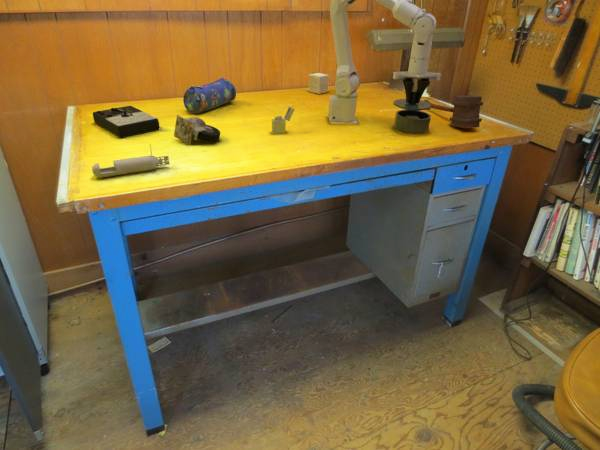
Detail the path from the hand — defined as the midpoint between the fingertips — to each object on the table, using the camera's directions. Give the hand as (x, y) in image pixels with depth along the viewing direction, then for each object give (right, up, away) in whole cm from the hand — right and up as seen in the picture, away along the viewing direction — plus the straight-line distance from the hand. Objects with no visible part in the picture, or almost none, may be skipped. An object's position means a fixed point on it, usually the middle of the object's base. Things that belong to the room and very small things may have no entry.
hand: (412, 102), depth 135 cm
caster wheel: (-66, -14, -9) cm, 68 cm away
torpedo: (-78, -27, -31) cm, 88 cm away
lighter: (-42, -10, -1) cm, 43 cm away
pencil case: (-69, +4, +21) cm, 72 cm away
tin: (+1, -8, +5) cm, 9 cm away
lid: (0, -1, 0) cm, 1 cm away
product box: (-28, +18, +47) cm, 57 cm away
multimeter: (-92, -8, -1) cm, 92 cm away
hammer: (+17, 0, +19) cm, 26 cm away
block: (+1, -7, +5) cm, 9 cm away
